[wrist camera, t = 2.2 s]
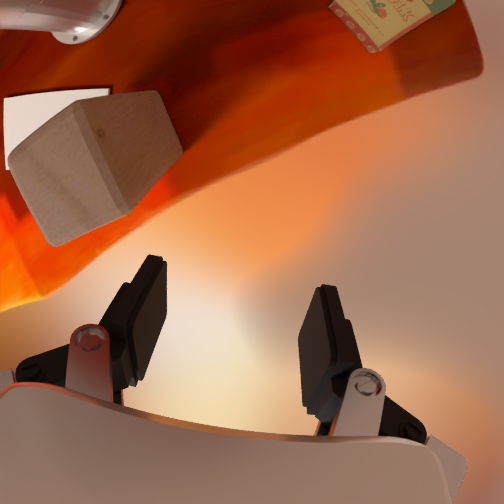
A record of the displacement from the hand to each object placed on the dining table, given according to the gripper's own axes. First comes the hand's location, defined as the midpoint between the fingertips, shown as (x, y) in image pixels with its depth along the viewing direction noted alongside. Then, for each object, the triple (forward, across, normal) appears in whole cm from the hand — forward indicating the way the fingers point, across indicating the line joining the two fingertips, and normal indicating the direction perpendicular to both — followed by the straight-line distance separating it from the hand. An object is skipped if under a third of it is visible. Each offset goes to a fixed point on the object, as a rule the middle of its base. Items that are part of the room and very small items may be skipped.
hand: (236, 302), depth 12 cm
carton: (+30, -13, -25) cm, 41 cm away
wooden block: (+29, +16, 0) cm, 34 cm away
